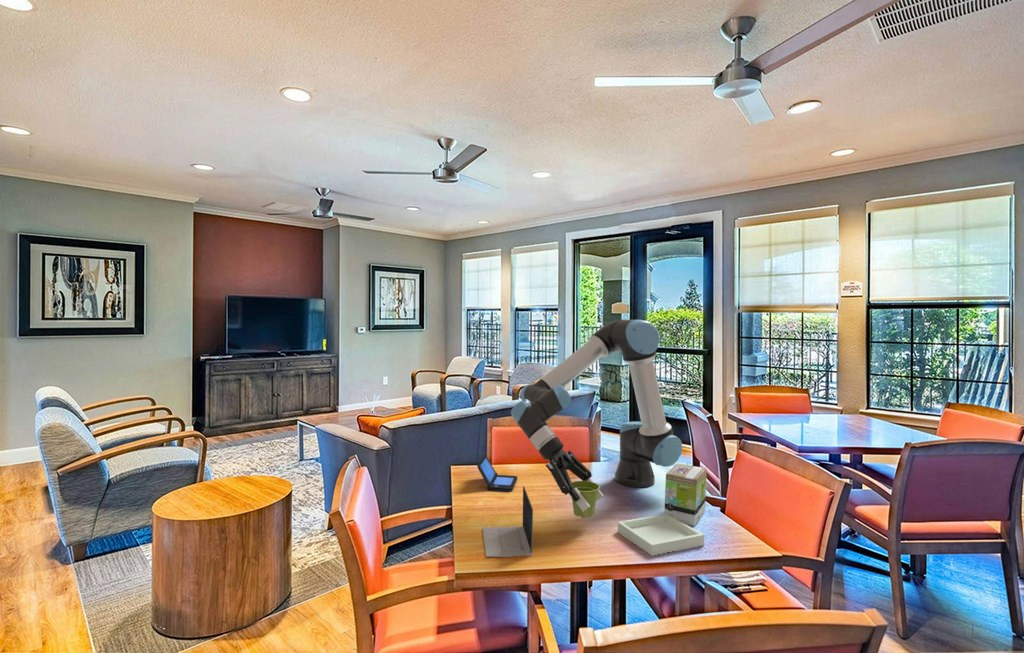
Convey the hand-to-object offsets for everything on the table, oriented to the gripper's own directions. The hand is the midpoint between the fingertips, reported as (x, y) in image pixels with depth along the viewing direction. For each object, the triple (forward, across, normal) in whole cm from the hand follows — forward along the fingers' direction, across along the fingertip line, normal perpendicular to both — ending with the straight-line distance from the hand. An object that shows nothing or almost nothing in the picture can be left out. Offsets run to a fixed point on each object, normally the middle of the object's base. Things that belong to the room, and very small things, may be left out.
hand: (593, 503), depth 149 cm
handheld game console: (-27, -18, -39) cm, 51 cm away
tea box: (+20, -28, +8) cm, 35 cm away
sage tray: (+19, -6, +7) cm, 21 cm away
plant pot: (+1, 0, -5) cm, 5 cm away
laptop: (-6, +21, -18) cm, 29 cm away
